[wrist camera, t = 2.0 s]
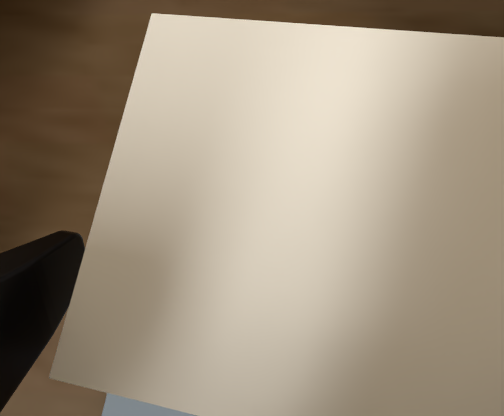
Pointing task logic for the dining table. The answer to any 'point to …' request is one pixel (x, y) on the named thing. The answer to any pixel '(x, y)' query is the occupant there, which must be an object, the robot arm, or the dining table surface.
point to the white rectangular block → (299, 226)
